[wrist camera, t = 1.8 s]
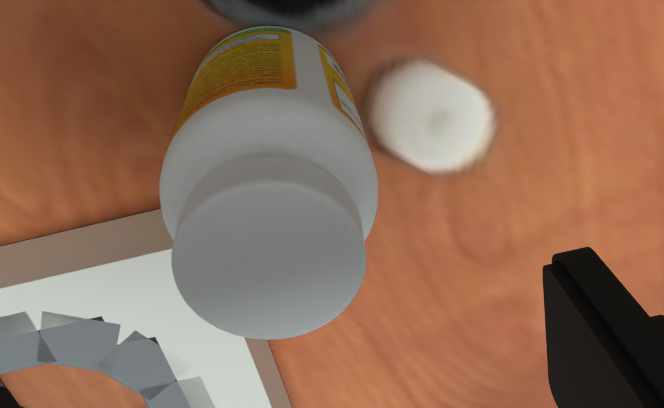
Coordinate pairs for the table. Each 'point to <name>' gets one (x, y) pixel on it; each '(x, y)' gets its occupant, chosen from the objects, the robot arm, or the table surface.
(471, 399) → the table surface
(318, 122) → the supplement bottle
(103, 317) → the holder
